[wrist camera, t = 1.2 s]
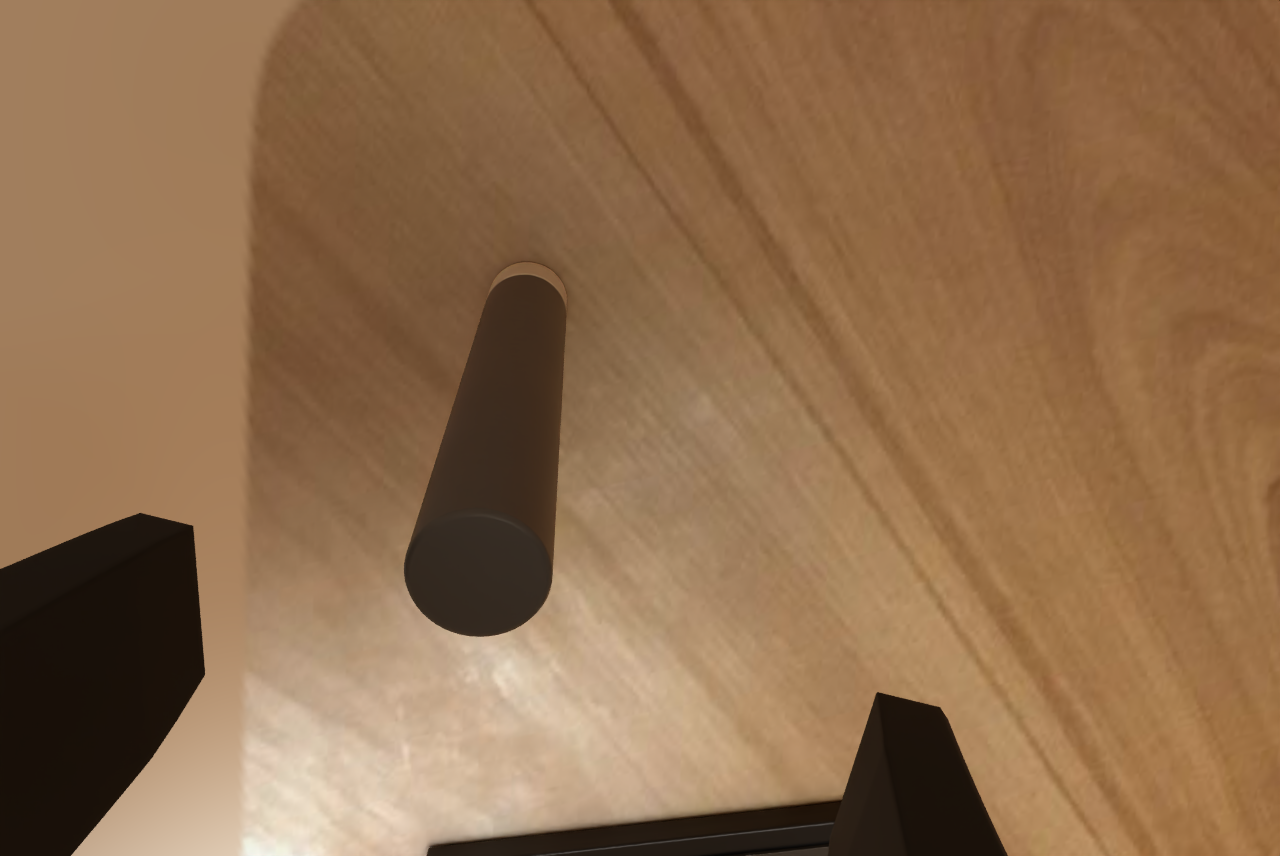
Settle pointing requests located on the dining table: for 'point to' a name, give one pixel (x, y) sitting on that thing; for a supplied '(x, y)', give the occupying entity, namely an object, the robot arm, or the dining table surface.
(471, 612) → the dark brown rod
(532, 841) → the tablet
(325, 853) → the dining table surface
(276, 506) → the dining table surface
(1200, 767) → the dining table surface
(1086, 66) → the dining table surface
